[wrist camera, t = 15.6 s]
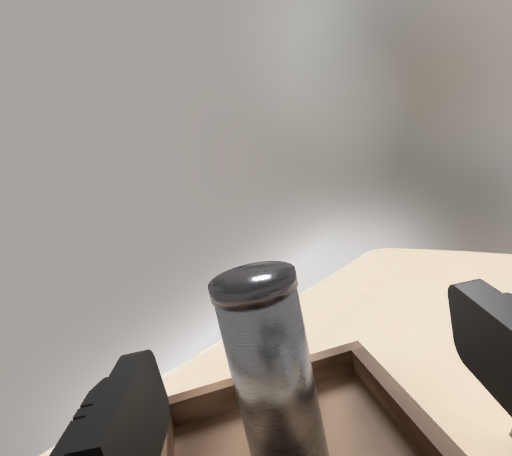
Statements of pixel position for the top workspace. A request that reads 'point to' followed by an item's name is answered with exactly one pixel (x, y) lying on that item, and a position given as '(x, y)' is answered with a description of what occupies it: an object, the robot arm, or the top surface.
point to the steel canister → (269, 359)
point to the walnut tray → (332, 410)
